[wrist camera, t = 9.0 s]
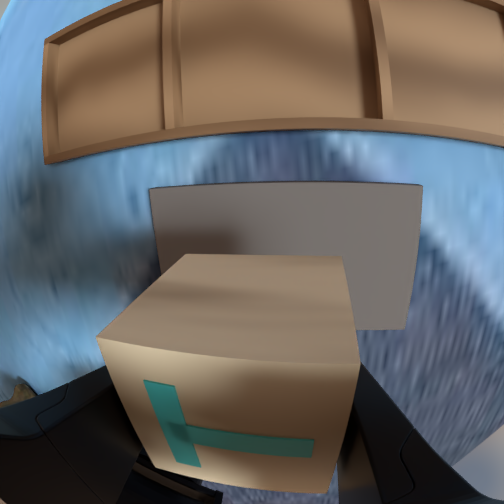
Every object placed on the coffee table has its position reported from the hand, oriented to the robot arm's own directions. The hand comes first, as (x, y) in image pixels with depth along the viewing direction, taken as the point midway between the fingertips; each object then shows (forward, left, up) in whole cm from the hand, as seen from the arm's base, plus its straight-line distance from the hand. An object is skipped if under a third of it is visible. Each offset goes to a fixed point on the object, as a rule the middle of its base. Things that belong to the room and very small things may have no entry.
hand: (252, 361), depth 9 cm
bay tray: (+11, 0, -8) cm, 14 cm away
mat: (0, 0, -8) cm, 8 cm away
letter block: (0, 0, -2) cm, 2 cm away
